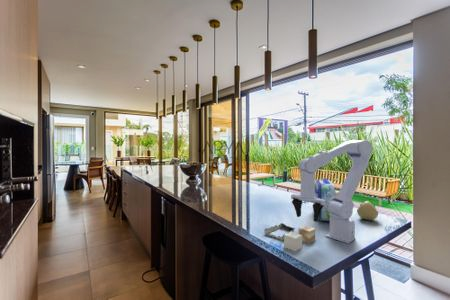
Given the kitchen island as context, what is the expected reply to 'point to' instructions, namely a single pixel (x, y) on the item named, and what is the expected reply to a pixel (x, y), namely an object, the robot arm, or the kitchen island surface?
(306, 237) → the oak cube
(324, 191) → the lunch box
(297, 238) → the cream cube
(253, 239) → the kitchen island surface
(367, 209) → the tan lumpy ball
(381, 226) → the kitchen island surface
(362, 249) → the kitchen island surface
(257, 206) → the kitchen island surface
